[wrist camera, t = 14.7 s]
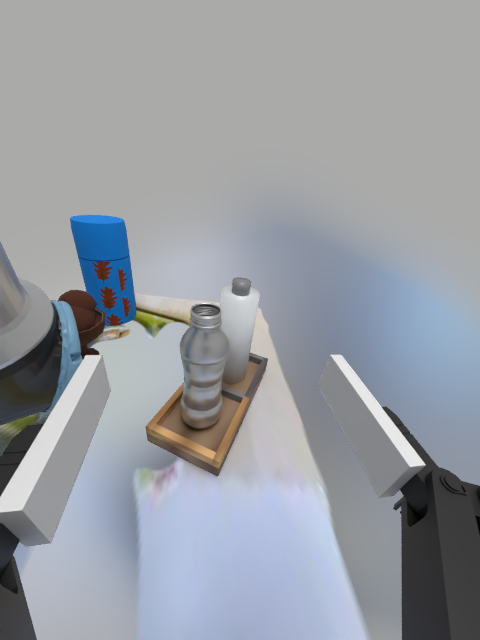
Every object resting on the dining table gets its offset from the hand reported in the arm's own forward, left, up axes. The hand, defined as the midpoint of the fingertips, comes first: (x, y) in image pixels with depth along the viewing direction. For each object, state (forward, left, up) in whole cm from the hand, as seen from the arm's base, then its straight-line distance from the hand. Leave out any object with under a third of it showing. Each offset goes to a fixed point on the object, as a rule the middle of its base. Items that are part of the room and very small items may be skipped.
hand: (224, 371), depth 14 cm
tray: (-8, +18, -26) cm, 33 cm away
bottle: (-8, +24, -24) cm, 35 cm away
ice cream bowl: (-38, +15, -26) cm, 48 cm away
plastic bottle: (-8, +12, -24) cm, 28 cm away
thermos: (-46, +31, -26) cm, 61 cm away
